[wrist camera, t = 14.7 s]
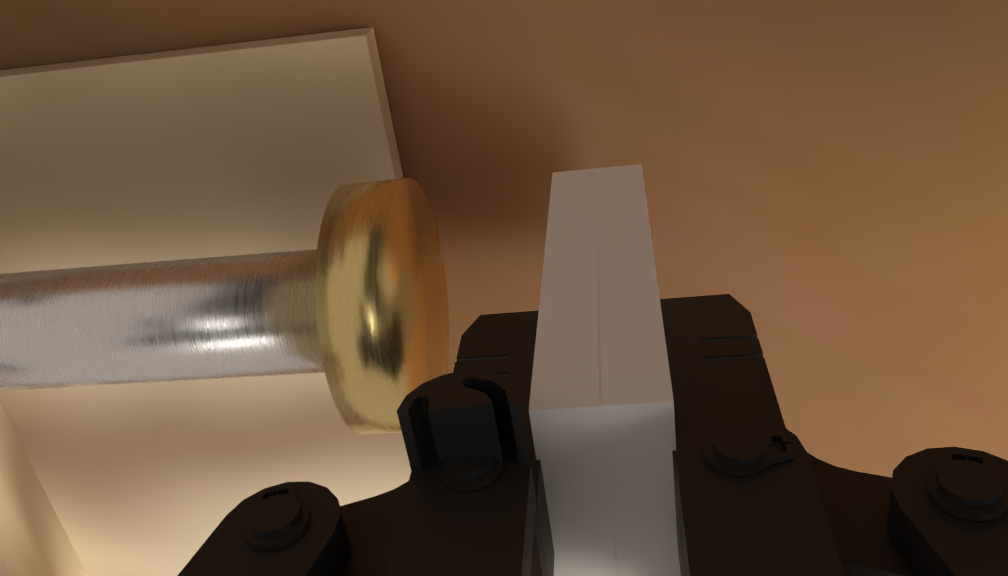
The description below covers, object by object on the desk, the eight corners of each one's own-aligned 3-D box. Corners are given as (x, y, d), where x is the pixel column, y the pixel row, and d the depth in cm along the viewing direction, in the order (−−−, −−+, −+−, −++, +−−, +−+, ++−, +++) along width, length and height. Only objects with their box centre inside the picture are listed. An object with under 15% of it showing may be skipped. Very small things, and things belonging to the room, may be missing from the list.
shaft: (-201, 199, 16) (-414, 310, 13) (421, 140, 15) (365, 250, 11) (-102, 373, 18) (-265, 510, 15) (458, 340, 17) (420, 486, 13)
